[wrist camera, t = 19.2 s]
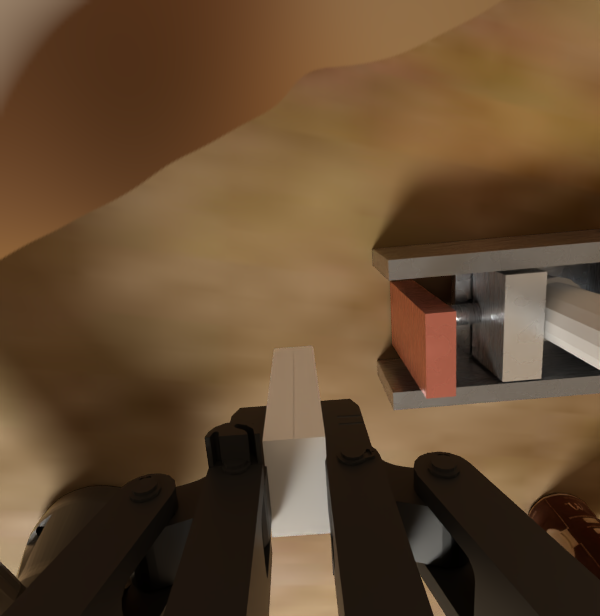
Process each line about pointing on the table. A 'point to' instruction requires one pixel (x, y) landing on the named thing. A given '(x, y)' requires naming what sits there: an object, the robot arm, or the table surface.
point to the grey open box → (461, 265)
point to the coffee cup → (571, 527)
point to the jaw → (485, 328)
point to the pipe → (573, 319)
